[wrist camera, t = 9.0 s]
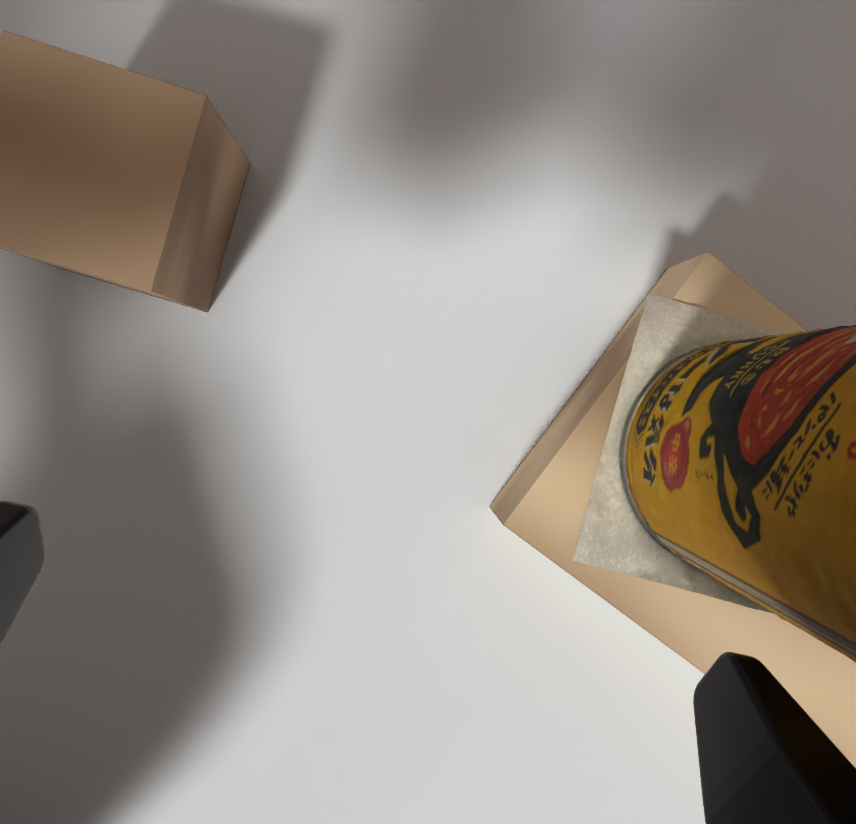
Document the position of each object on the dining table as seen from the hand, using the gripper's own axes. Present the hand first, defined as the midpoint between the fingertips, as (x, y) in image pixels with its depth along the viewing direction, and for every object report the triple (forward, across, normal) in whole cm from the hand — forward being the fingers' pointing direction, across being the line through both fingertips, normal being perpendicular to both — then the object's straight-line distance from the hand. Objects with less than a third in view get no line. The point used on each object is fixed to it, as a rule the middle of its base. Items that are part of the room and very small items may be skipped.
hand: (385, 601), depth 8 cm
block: (+12, +8, +1) cm, 15 cm away
